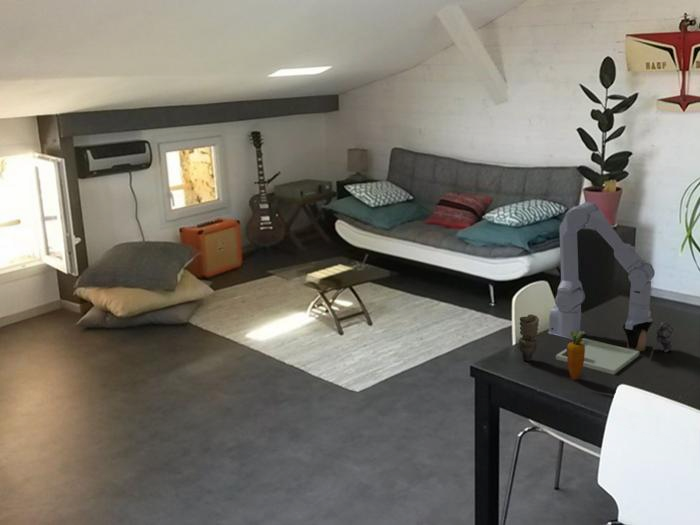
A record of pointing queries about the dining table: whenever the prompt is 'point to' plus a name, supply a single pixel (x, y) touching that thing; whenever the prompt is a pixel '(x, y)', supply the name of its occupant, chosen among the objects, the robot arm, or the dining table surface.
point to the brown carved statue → (528, 336)
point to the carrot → (575, 356)
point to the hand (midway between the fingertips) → (636, 344)
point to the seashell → (665, 335)
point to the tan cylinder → (640, 342)
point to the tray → (603, 356)
